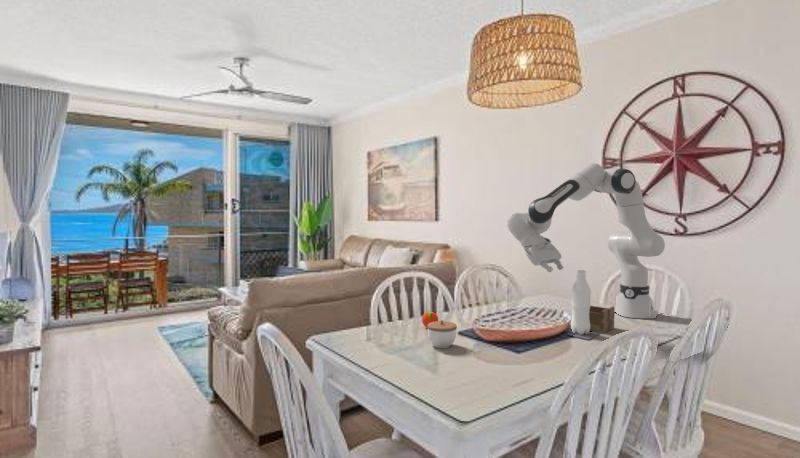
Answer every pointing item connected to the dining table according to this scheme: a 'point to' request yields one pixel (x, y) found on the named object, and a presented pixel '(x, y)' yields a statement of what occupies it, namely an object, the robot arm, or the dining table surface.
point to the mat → (587, 335)
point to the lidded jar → (441, 333)
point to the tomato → (429, 318)
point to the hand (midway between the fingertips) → (556, 270)
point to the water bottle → (580, 305)
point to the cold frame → (601, 319)
